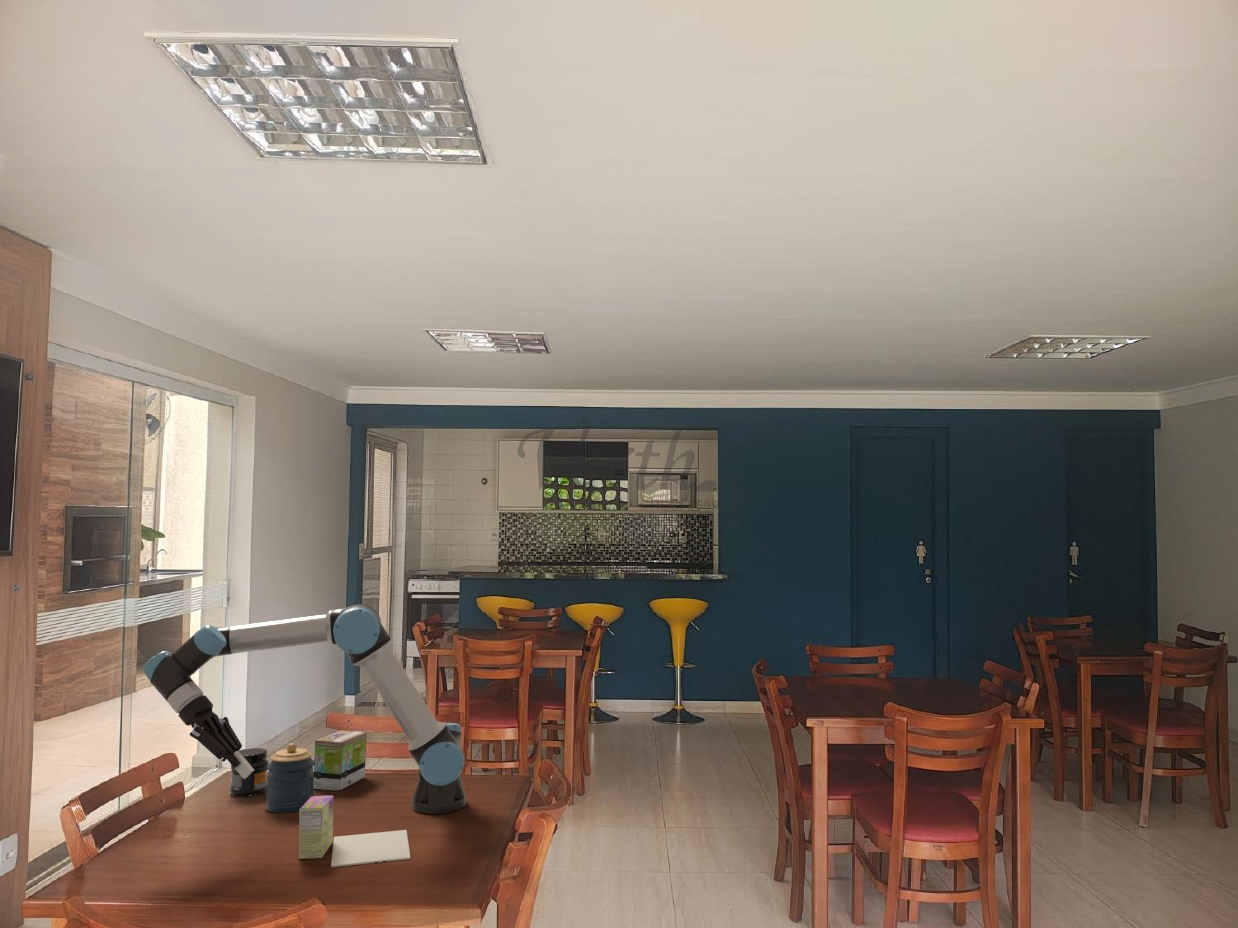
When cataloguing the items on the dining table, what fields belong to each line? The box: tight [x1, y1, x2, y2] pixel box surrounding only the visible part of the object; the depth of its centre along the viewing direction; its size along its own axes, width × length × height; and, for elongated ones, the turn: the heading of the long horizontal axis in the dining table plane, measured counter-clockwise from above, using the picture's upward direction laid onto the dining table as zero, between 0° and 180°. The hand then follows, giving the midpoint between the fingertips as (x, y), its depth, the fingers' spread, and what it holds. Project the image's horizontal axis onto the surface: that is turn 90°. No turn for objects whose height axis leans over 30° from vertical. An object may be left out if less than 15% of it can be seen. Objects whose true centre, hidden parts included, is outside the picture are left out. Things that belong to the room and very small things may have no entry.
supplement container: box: [229, 747, 270, 797], centre depth 257 cm, size 10×10×12 cm
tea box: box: [313, 730, 368, 791], centre depth 266 cm, size 15×10×15 cm
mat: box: [330, 829, 411, 868], centre depth 210 cm, size 18×20×1 cm
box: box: [298, 795, 334, 860], centre depth 209 cm, size 10×6×12 cm, turn 5°
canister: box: [265, 742, 315, 814], centre depth 244 cm, size 13×13×18 cm
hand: (249, 774), depth 212 cm, fingers closed
